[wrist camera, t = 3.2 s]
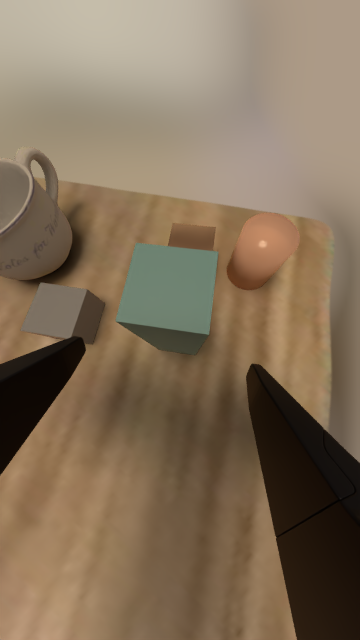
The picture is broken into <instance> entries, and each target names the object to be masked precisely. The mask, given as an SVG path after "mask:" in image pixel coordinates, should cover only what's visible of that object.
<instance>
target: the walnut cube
mask: <svg viewBox="0 0 360 640" xmlns="http://www.w3.org/2000/svg"><path fill="white" fill-rule="evenodd" d="M215 229H216V227H207V226H197V225H187V224H177V223H173V224H172V229H171V234H170V239H169V243H168V246H170V247H179V248H188V249H197V250H207V251H213V245H214V237H215Z"/></svg>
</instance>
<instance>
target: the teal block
mask: <svg viewBox="0 0 360 640" xmlns="http://www.w3.org/2000/svg"><path fill="white" fill-rule="evenodd" d="M217 259H218V252H216V251H207V250H197V249H188V248H179V247H170V246H160V245H151V244H142V243H136V245H135V249H134V252H133V256H132V260H131V264H130V268H129V271H128V275H127V279H126V283H125V287H124V290H123V294H122V298H121V302H120V306H119V309H118V313H117V317H116V322H117V323H119V324H120V325H122V326H124V327H125V328H127V329H128V330H130V331H131V332H133V333H134V334H136V335H137V336H139V337H140V338H142V339H143V340H145V341H146V342H148V343H150V344H151V345H153V346H154V347H156V348H157V349H159V350H165V351H171V352H177V353H184V354H190V355H195V354H196V353H197V352H198V350H199V349H200V347H201V346H202V344H203V343H204V341H205V340H206V338H207V337H208V335H209V330H210V321H211V312H212V303H213V295H214V286H215V277H216V268H217Z"/></svg>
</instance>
